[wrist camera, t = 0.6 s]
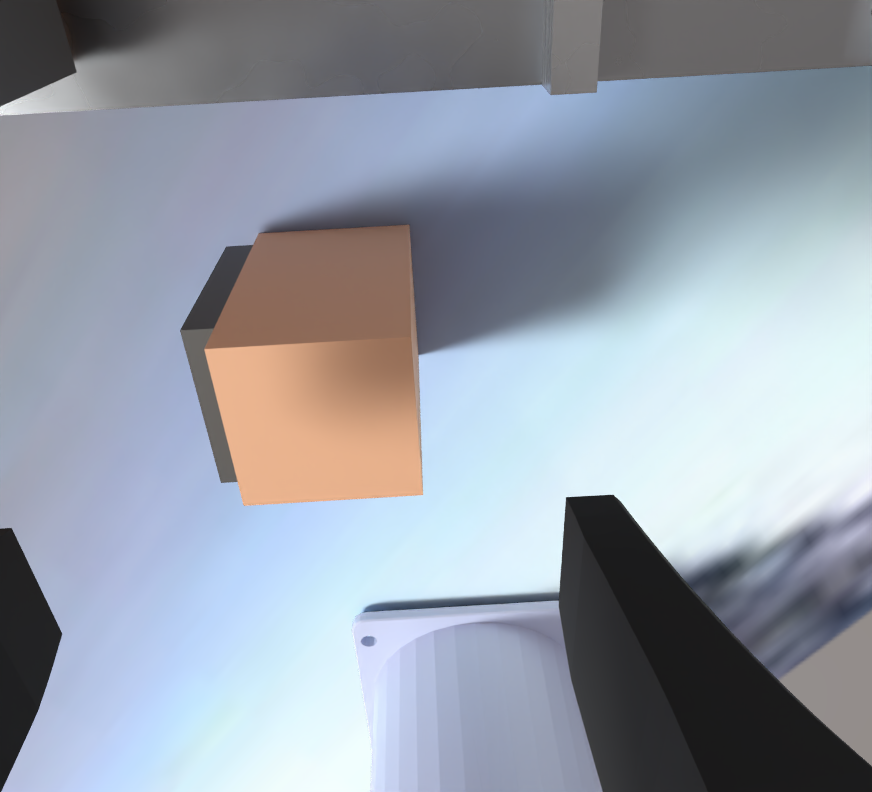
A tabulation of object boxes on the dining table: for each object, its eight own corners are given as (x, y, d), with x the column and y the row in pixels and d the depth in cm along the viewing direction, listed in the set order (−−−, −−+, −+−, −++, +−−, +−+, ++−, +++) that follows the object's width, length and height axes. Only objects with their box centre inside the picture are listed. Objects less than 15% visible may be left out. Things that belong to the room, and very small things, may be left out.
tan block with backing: (418, 355, 19) (422, 494, 14) (259, 364, 19) (212, 507, 14) (409, 224, 17) (411, 336, 12) (233, 234, 17) (168, 351, 12)
